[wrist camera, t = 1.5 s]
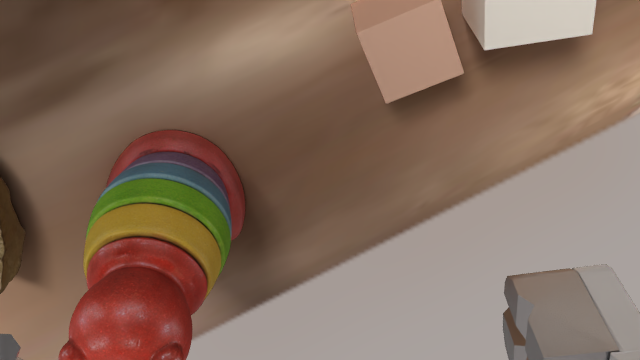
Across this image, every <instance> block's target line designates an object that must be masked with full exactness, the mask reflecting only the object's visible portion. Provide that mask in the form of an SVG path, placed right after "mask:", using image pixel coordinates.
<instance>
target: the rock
mask: <svg viewBox="0 0 640 360" xmlns="http://www.w3.org/2000/svg"><path fill="white" fill-rule="evenodd" d="M24 238H25V230H24V229H23V228H22V227H21V225H20V223H19V221H18V219H17V215H16V213H15V211H14V209H13V206H12V204H11V202H10V192H9V189H8V187H7V186H6V184H5V182H4V181H3V180H2V178H1V177H0V294H1V293H2V292H3V291H4V289H5V288H6V286H7V285H8V283H9V282H10V281H12V279H13V278H14V276H15V275H16V274H17V272H18V270H19V268H20V264H21V261H22V260H21V254H22V252H23V244H24Z"/></svg>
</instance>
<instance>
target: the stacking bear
mask: <svg viewBox="0 0 640 360" xmlns="http://www.w3.org/2000/svg"><path fill="white" fill-rule="evenodd" d="M244 217H245V197H244V191H243V187H242V184H241V181H240V179H239V176H238V174H237V172H236V170H235V168H234V166H233V165H232V163H231V162H230V160H229V159H228V158H227V156H226V155H225V154H224V153H223V152H222V151H221V150H220V149H219V148H218V147H217V146H216V145H214V144H213V143H211V142H210V141H208V140H206V139H204V138H203V137H200V136H198V135H195V134H192V133H188V132H184V131H176V130H164V131H157V132H152V133H149V134H146V135H144V136H142V137H140V138H138V139H136V140H135V141H133V142H132V143H131V144H130V145H129V146H128V147H127V148H126V149H125V150H124V151H123V153H122V154H121V155H120V156H119V158H118V159H117V161H116V162H115V164H114V166H113V168H112V171H111V173H110V175H109V178H108V181H107V185H106V189H105V190H104V192H103V193H102V194H101V196H100V197H99V199H98V201H97V203H96V205H95V207H94V209H93V211H92V214H91V217H90V221H89V224H88V228H87V234H86V243H85V249H84V261H83V265H84V272H85V276H86V279H87V286H88V289H89V290H88V291H87V292H86V293H85V294H84V296H83V297H82V298H81V299H80V301H79V303H78V305H77V306H76V308H75V311H74V313H73V315H72V318H71V321H70V326H69V341H68V342H67V343H66V344H65V345H64V346H63V347H62V349H61V351H60V353H59V360H186V358H187V356H188V353H189V349H190V345H191V340H192V319H191V315H192V314H193V313H195V312H196V311H197V310H198V308H199V307H200V306H201V305H202V303H203V301H204V300H205V298H206V297H207V296H208V294H209V293H210V291H211V289H212V288H213V286H214V284H215V282H216V280H217V278H218V276H219V275H220V273H221V271H222V269H223V267H224V265H225V262H226V259H227V256H228V253H229V250H230V244H231V240H233V239H235V238H236V237H237V236H238V235H239V234H240V232H241V230H242V227H243V223H244Z"/></svg>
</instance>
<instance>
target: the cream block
mask: <svg viewBox="0 0 640 360" xmlns="http://www.w3.org/2000/svg"><path fill="white" fill-rule="evenodd" d="M595 7H596V0H462V15H463V17H464V18H465V20H466V21H467V23H468V25H469V26H470V28H471V30H472V31H473V33H474V34H475V36H476V38H477V39H478V41H479V42H480V44H481V46H482V47H483V49H484V50H490V49H497V48H504V47H510V46H517V45H524V44H531V43H537V42H544V41H551V40H557V39H564V38H571V37H577V36H584V35H591V34H592V31H593V23H594V15H595Z"/></svg>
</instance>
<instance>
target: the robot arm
mask: <svg viewBox="0 0 640 360" xmlns="http://www.w3.org/2000/svg"><path fill="white" fill-rule="evenodd" d="M504 294H505V297H506V300H507V303H508V305H509V308H508V309H507V310H506V311H505V312H504V313H503V332H504V340H505V346H506V350H507V354H508V358H509V360H640V312H639V311H638V309H637V308H636V306H635V304H634V303H633V301H632V300H631V298H630V296H629V295H628V293H627V292H626V290H625V289H624V287H623V285H622V283H621V282H620V281H619V279H618V277H617V276H616V274H615V272H614V271H613V269H612V268H611V267H609V266H608V265H607V264H602V265H594V266H586V267H577V268H572V269H560V270H553V271H544V272H536V273H528V274H520V275H512V276H507V278H506V281H505V290H504ZM19 351H20V346H19V345H18V343H17V342H16V340H15V339H14V338H13V336H12V335H11V334H0V360H23V359H21V358H19V357H18V354H19Z"/></svg>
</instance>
